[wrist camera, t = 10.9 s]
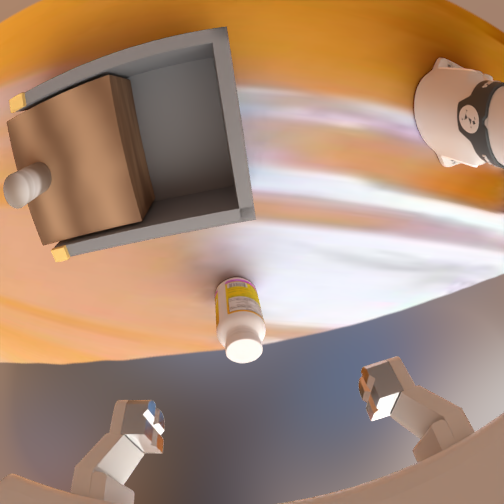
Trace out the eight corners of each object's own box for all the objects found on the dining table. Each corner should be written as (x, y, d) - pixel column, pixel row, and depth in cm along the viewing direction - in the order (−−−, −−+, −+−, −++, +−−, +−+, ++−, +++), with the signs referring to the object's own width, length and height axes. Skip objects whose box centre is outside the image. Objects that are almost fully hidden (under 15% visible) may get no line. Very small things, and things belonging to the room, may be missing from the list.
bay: (223, 46, 30) (226, 24, 20) (246, 192, 39) (256, 222, 30) (52, 96, 29) (9, 100, 20) (86, 226, 39) (56, 262, 29)
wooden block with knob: (130, 80, 29) (89, 70, 18) (155, 198, 37) (130, 241, 25) (39, 115, 28) (-20, 128, 17) (68, 220, 36) (24, 266, 25)
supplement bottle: (234, 315, 49) (241, 374, 38) (206, 292, 46) (206, 352, 35) (265, 292, 48) (280, 350, 36) (237, 267, 45) (246, 324, 34)
